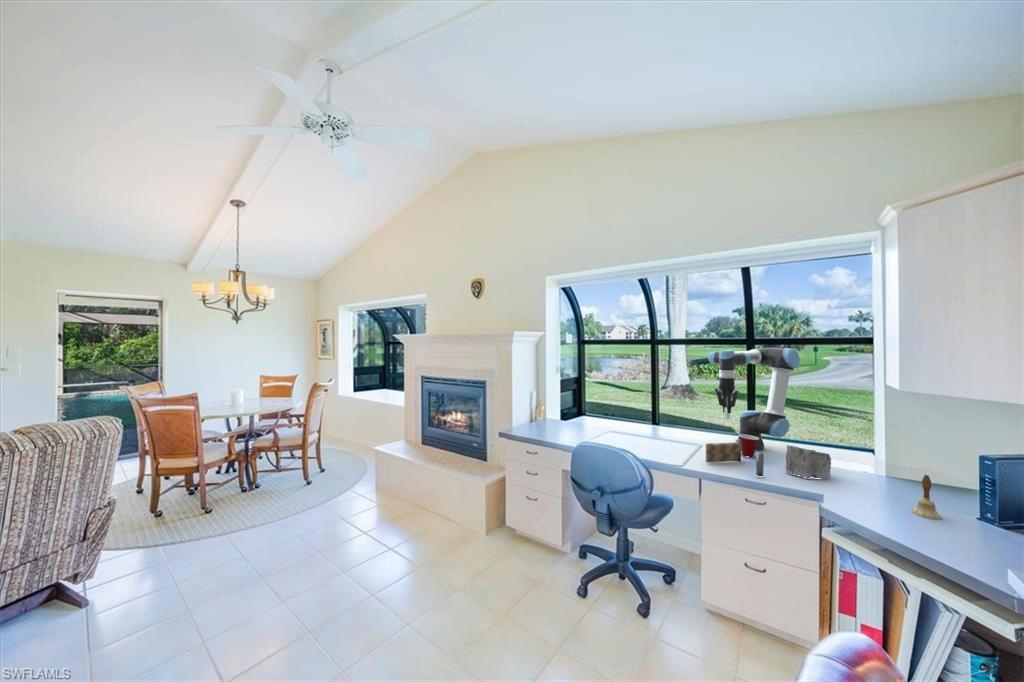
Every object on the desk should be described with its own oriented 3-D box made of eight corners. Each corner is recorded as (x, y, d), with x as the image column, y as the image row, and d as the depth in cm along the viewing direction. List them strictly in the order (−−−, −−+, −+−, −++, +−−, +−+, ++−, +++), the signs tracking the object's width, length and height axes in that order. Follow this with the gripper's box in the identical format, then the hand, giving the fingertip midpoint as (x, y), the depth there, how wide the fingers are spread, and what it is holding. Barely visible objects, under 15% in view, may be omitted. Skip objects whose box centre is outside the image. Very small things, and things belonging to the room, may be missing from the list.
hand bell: (933, 520, 149) (934, 480, 149) (906, 511, 157) (907, 472, 157) (946, 518, 152) (948, 478, 151) (919, 508, 160) (920, 470, 159)
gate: (737, 460, 218) (737, 442, 217) (738, 460, 216) (739, 442, 216) (705, 461, 215) (705, 443, 215) (707, 462, 213) (707, 444, 213)
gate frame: (707, 458, 222) (708, 438, 222) (739, 460, 220) (740, 439, 220) (728, 476, 195) (728, 452, 195) (764, 477, 193) (764, 454, 193)
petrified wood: (828, 473, 200) (829, 444, 200) (833, 484, 185) (834, 453, 185) (784, 466, 210) (785, 439, 210) (785, 476, 196) (786, 447, 195)
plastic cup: (763, 459, 222) (763, 438, 222) (744, 458, 222) (744, 438, 222) (752, 453, 233) (752, 433, 233) (734, 453, 233) (734, 433, 233)
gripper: (711, 376, 221) (712, 417, 221) (735, 379, 210) (735, 421, 211) (718, 375, 225) (719, 415, 226) (742, 377, 214) (742, 419, 215)
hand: (727, 418), depth 218 cm, fingers closed
